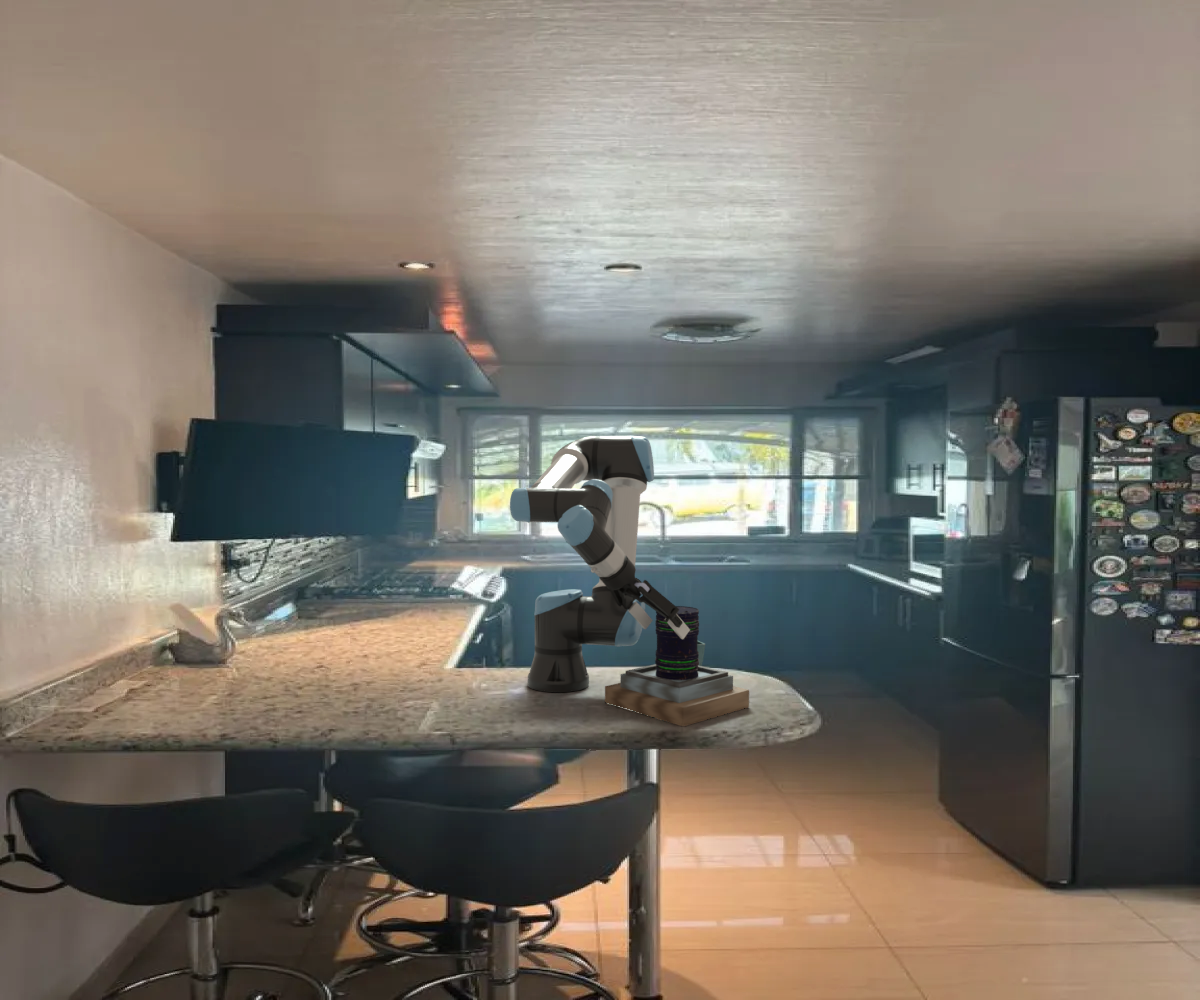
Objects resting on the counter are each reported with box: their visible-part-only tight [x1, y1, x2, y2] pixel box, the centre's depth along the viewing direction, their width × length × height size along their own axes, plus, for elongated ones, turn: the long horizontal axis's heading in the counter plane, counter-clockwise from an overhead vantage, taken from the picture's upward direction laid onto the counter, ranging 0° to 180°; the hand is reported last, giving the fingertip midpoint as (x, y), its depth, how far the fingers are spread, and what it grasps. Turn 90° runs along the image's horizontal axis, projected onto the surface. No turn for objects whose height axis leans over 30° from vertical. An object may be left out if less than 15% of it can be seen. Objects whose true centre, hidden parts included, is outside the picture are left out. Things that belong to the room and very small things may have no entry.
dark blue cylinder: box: [654, 605, 700, 680], centre depth 210 cm, size 10×10×15 cm
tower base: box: [604, 663, 750, 727], centre depth 211 cm, size 24×22×8 cm
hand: (666, 629), depth 208 cm, fingers open, 13 cm apart
